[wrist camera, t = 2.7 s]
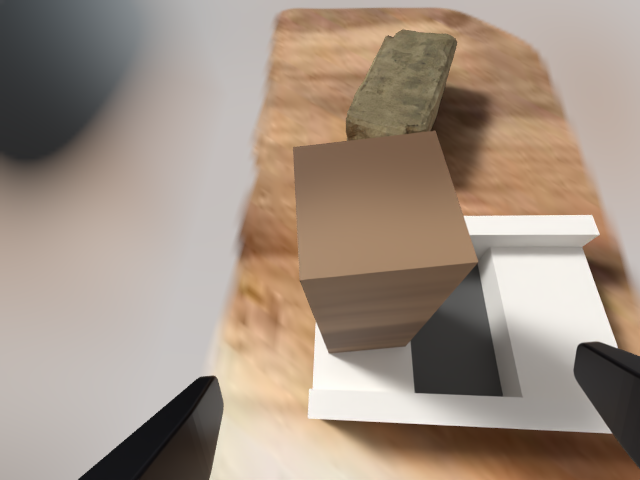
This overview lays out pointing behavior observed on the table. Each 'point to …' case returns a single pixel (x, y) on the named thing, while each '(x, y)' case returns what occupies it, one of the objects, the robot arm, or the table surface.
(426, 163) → the walnut block
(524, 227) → the walled channel
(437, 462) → the table surface
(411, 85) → the stone block
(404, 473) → the table surface
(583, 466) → the table surface
